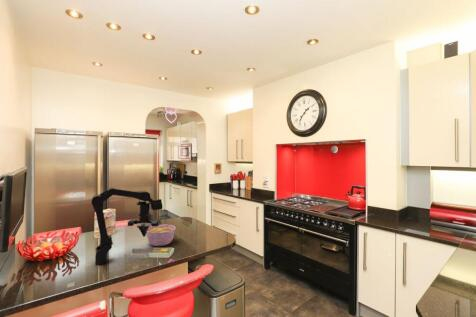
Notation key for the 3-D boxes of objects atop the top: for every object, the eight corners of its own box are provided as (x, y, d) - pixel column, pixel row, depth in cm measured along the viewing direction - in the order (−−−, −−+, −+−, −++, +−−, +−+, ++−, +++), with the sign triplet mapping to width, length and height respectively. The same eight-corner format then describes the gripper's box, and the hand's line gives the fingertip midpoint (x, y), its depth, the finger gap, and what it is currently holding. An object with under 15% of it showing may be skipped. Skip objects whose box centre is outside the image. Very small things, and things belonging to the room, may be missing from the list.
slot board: (147, 259, 137) (147, 255, 137) (124, 259, 137) (124, 255, 137) (154, 252, 148) (154, 248, 148) (132, 251, 148) (133, 248, 148)
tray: (169, 259, 138) (169, 253, 138) (148, 258, 138) (148, 253, 138) (174, 253, 147) (174, 247, 147) (153, 252, 147) (153, 247, 147)
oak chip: (159, 255, 140) (159, 251, 140) (153, 255, 140) (153, 250, 140) (161, 253, 144) (161, 248, 144) (155, 253, 144) (155, 248, 144)
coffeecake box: (102, 239, 171) (102, 212, 172) (93, 238, 173) (94, 212, 173) (115, 232, 186) (116, 208, 186) (107, 232, 187) (108, 208, 187)
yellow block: (166, 255, 140) (166, 251, 140) (159, 255, 140) (159, 250, 140) (168, 253, 144) (168, 248, 144) (162, 253, 144) (162, 248, 144)
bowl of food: (180, 241, 168) (180, 225, 168) (165, 251, 149) (165, 234, 149) (157, 238, 173) (157, 223, 173) (138, 248, 154) (139, 231, 154)
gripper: (163, 208, 151) (163, 232, 151) (135, 208, 151) (135, 232, 151) (157, 212, 139) (157, 238, 139) (127, 212, 140) (126, 238, 140)
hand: (144, 236), depth 143 cm, fingers closed
